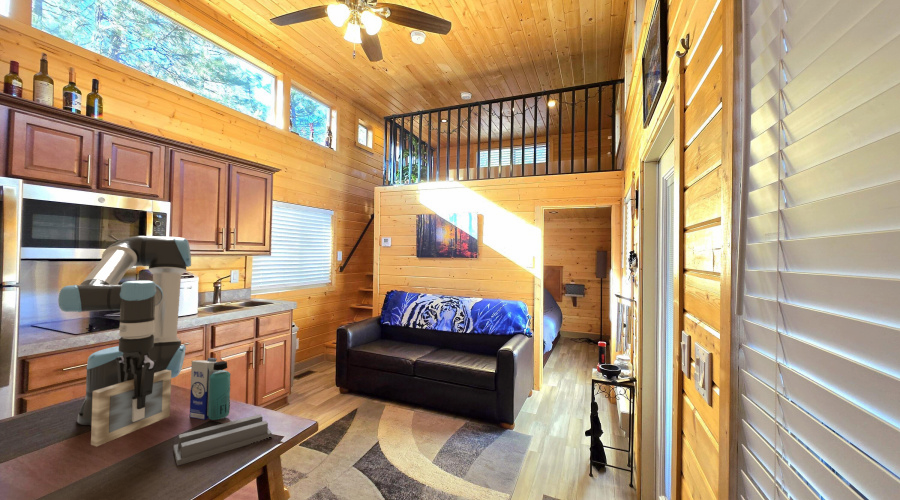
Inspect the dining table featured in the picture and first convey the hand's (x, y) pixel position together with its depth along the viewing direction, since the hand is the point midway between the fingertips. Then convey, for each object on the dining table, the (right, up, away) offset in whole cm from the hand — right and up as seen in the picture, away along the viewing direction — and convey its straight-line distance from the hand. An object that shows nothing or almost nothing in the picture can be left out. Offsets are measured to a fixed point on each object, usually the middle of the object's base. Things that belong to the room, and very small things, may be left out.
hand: (134, 418), depth 102 cm
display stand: (+21, -12, +8) cm, 25 cm away
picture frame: (0, -3, 0) cm, 3 cm away
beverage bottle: (+9, -12, +23) cm, 27 cm away
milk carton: (+2, -11, +27) cm, 29 cm away
